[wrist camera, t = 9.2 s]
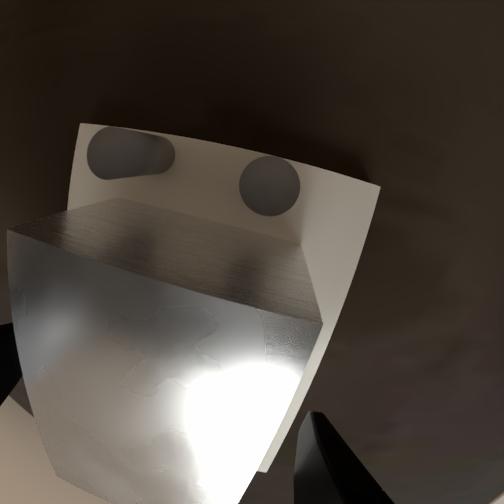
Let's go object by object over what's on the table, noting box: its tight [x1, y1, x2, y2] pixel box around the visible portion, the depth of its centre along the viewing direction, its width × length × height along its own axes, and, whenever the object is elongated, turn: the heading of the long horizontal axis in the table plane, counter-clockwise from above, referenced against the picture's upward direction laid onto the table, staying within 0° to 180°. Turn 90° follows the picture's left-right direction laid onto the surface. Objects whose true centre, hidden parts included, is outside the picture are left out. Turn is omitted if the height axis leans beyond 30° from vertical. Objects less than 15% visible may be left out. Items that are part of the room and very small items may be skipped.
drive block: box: [7, 197, 323, 504], centre depth 8 cm, size 6×9×5 cm, turn 166°
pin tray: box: [67, 123, 380, 472], centre depth 10 cm, size 10×14×4 cm
